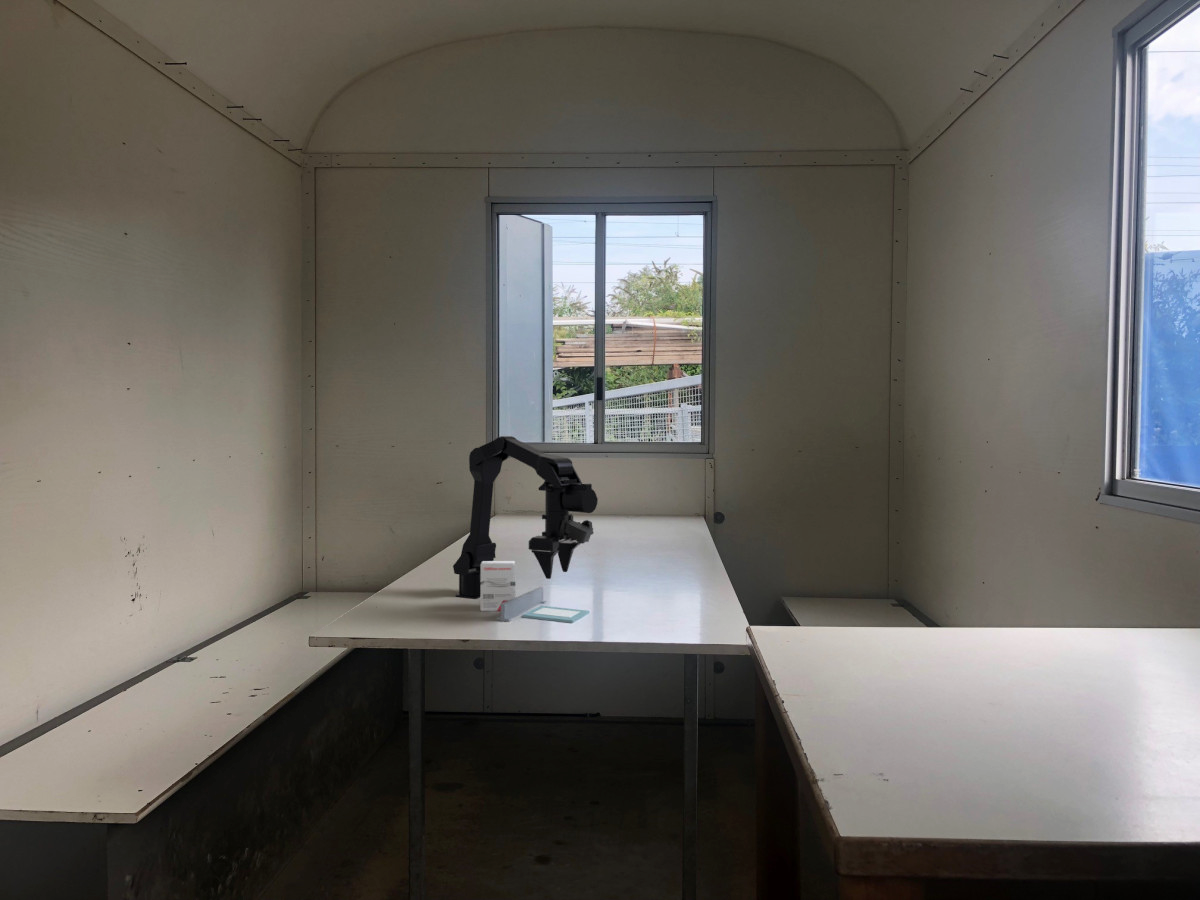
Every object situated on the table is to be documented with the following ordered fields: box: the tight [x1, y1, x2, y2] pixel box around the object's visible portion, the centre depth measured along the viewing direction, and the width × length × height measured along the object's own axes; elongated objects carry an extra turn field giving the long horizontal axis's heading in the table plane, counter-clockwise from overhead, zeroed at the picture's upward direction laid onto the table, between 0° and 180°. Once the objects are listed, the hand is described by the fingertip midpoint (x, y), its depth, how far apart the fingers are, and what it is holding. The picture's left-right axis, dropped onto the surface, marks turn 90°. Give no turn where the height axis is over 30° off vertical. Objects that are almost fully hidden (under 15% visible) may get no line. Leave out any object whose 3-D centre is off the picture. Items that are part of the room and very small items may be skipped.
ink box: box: [479, 560, 516, 612], centre depth 185 cm, size 8×5×12 cm, turn 96°
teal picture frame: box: [521, 605, 590, 624], centre depth 179 cm, size 13×10×1 cm
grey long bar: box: [497, 586, 547, 622], centre depth 183 cm, size 3×20×4 cm, turn 158°
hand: (556, 575), depth 179 cm, fingers open, 9 cm apart
